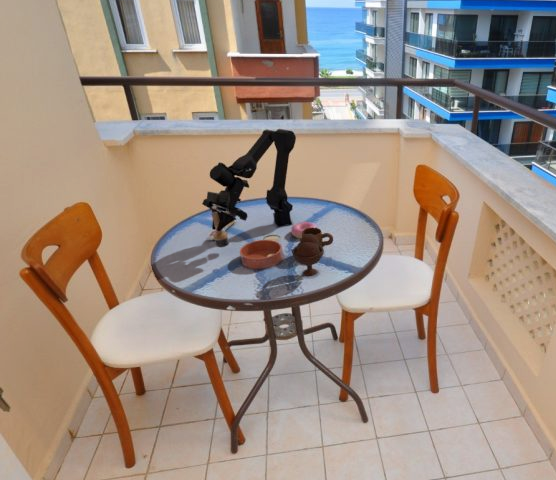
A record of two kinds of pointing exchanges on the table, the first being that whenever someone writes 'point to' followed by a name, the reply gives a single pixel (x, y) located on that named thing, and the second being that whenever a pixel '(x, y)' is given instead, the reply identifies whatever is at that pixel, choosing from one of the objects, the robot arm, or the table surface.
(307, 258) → the ice cream bowl
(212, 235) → the paintbrush
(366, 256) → the table surface
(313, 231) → the mug
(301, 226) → the doughnut
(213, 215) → the dish brush
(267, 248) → the terracotta bowl
